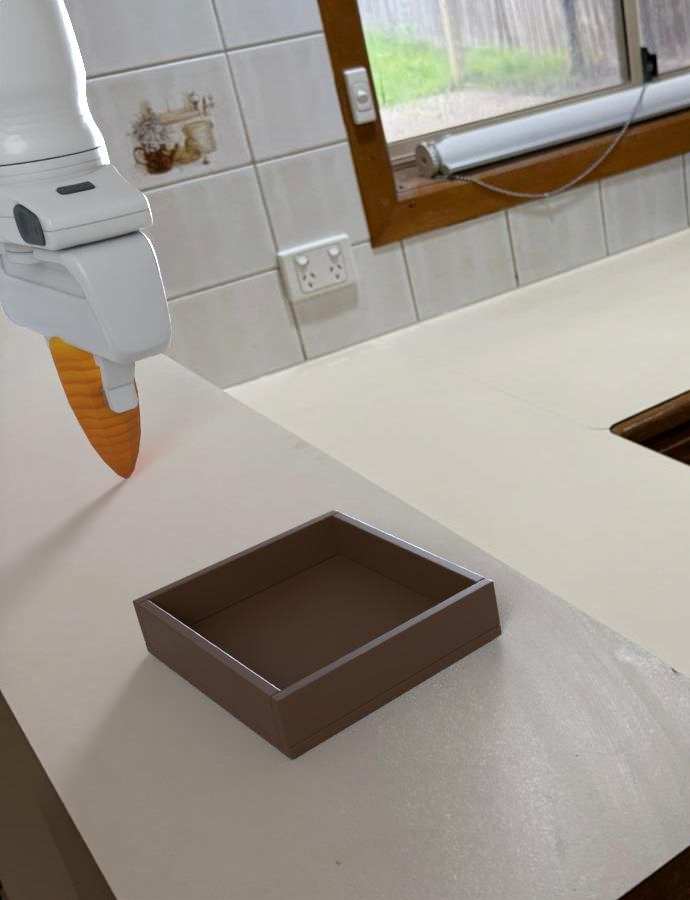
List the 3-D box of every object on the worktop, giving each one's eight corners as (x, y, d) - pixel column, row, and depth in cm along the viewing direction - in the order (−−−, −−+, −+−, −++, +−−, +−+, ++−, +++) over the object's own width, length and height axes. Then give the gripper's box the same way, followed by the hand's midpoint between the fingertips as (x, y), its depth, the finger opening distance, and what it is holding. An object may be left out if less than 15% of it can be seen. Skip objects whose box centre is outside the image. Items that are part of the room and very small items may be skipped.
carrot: (137, 458, 84) (79, 260, 78) (177, 469, 82) (121, 265, 76) (76, 485, 81) (11, 280, 75) (116, 498, 78) (51, 285, 72)
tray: (147, 651, 59) (131, 600, 58) (344, 555, 67) (334, 508, 65) (291, 760, 50) (276, 702, 48) (502, 634, 57) (493, 580, 56)
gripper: (-59, 200, 78) (4, 388, 84) (56, 224, 65) (122, 447, 70) (34, 181, 82) (88, 362, 88) (161, 200, 68) (215, 413, 74)
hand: (104, 400), depth 79 cm, fingers closed on carrot, 5 cm apart
